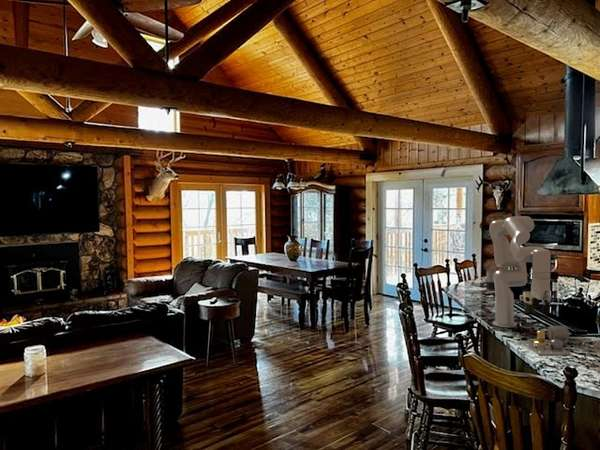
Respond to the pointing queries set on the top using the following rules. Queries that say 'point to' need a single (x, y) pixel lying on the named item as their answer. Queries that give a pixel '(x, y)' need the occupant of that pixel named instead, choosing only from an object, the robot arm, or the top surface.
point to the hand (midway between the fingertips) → (540, 310)
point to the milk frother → (489, 280)
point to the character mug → (527, 302)
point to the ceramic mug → (558, 333)
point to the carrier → (546, 347)
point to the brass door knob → (540, 338)
